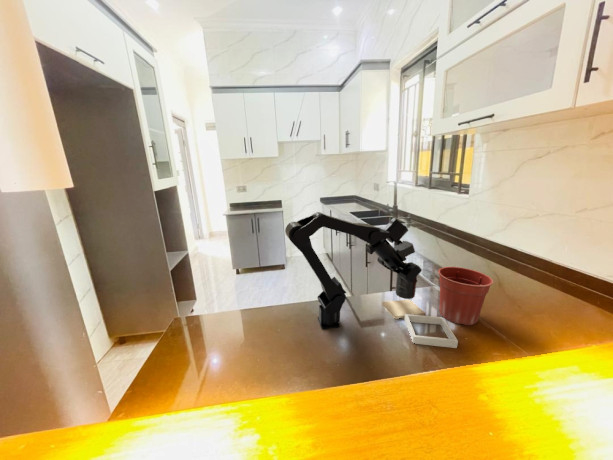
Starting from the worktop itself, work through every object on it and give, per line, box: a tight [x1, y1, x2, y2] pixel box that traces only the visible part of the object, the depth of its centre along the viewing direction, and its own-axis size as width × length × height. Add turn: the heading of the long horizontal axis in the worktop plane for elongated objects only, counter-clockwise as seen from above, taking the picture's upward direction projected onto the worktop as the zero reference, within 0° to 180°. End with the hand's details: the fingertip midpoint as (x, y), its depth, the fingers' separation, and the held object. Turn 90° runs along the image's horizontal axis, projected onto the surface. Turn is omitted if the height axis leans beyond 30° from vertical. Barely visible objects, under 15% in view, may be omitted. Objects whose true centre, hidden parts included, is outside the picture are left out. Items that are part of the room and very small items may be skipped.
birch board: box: [381, 299, 426, 320], centre depth 96 cm, size 12×10×1 cm
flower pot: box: [437, 266, 494, 326], centre depth 90 cm, size 16×16×16 cm
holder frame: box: [403, 314, 459, 349], centre depth 82 cm, size 13×13×2 cm
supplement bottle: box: [395, 262, 418, 300], centre depth 92 cm, size 7×7×12 cm
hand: (409, 278), depth 93 cm, fingers closed on supplement bottle, 7 cm apart
